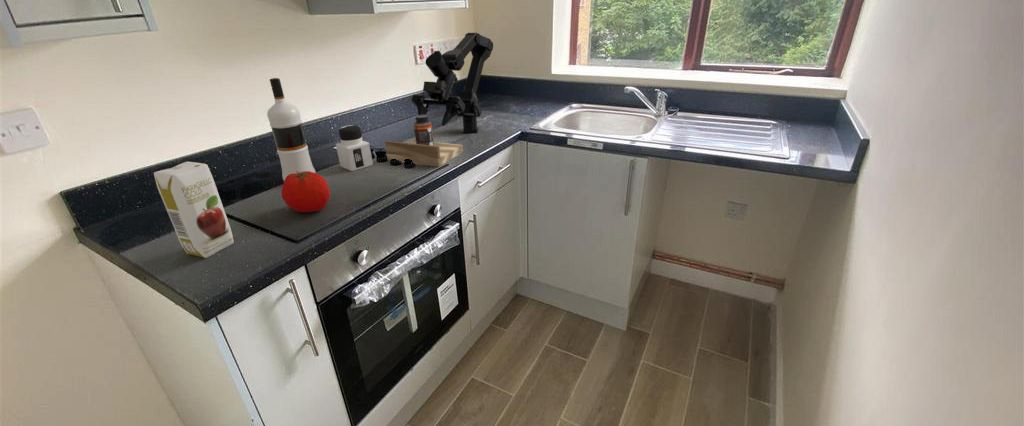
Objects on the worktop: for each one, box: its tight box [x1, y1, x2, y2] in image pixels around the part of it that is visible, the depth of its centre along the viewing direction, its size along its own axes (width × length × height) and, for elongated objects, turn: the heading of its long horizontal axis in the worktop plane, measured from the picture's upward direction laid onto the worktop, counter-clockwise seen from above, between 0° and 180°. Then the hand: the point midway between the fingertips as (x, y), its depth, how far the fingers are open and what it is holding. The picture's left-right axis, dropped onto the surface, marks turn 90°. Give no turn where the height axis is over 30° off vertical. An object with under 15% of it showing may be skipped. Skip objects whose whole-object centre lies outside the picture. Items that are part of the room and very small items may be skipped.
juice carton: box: [153, 161, 235, 259], centre depth 94 cm, size 8×9×19 cm
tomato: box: [280, 170, 331, 213], centre depth 113 cm, size 11×13×10 cm
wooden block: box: [384, 139, 464, 168], centre depth 150 cm, size 16×20×6 cm
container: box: [335, 124, 374, 172], centre depth 142 cm, size 8×8×13 cm
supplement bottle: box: [413, 114, 435, 146], centre depth 148 cm, size 6×6×11 cm
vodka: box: [266, 77, 317, 182], centre depth 128 cm, size 9×9×30 cm
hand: (431, 124), depth 151 cm, fingers open, 9 cm apart
